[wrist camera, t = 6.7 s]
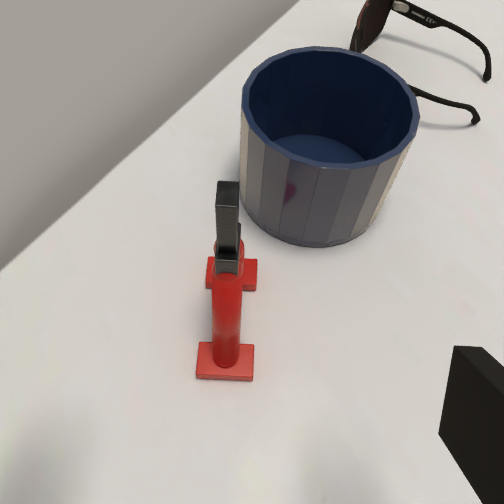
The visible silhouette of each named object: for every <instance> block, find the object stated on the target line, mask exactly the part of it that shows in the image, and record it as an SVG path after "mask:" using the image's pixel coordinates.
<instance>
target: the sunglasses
mask: <svg viewBox="0 0 504 504" xmlns="http://www.w3.org/2000/svg"><path fill="white" fill-rule="evenodd" d="M390 10H393V11H395V12H397V13H399V14H401V15H403V16H405V17H407V18H409V19H411V20H413V21H415V22H418V23H420V24H422V25H424V26H426V27H428V28H436V27H440V26H444V27H447V28H449V29H452V30H454V31H456V32H458V33H459V34H461V35H463V36H464V37H466V38H468V39H469V40H471V41H472V42H474V43H475V44H476V45H477V46H479V47H480V48H481V49H482V51H483V53H484V55H485V60H486V68H485V72H484V74H483V80H484V81H489V80H490V79H491V58H490V53H489V51H488V49H487V47H486V46H485V45H484V44H483V43H482V42H481V41H480V40H479V39H477V38H476V37H475V36H473V35H472V34H470V33H469V32H467V31H466V30H464V29H462V28H460V27H459V26H457V25H455V24H453V23H451V22H449V21H446V20H444V19H442V18H440V17H438V16H436V15H434V14H432V13H430V12H428V11H426V10H424V9H422V8H420V7H418V6H416V5H414V4H412V3H410V2H408V1H406V0H396V1H395V0H367V1H366V2H365V4H364V6H363V8H362V10H361V12H360V14H359V16H358V19H357V25H356V27H355V30H354V32H353V36H352V40H351V44H350V49H349V50H350V51H354V52H358V53H361V50H363V49H365V48H367V47H368V46H369V45H370V44H371V43H372V42H373V41H374V40H375V38H376V37H377V36H378V35H379V34H380V33H381V31H382V30H383V27H384V25H385V23H386V20H387V17H388V15H389V12H390ZM407 85H408V84H407ZM408 86H409V88H410V89H411V91H412V92H413V94H414V95H415V96H421V97H424V98H426V99H429V100H431V101H434V102H437V103H440V104H444V105H447V106H452V107H457V108H462V109H466V110H468V111H469V112H471V113H472V115H473V118H472V120H471V123H472V124H473V125H474V124H477V123H478V122H479V121H480V117H479V114H478V113H477V111H476V109H475V108H474V107H473V106H471V105H468V104H463V103H458V102H453V101H449V100H446V99H443V98H440V97H437V96H434V95H432V94H429V93H427V92H424V91H422V90H420V89H418V88H416V87H413V86H411V85H408Z"/></svg>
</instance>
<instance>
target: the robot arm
mask: <svg viewBox="0 0 504 504" xmlns="http://www.w3.org/2000/svg"><path fill="white" fill-rule="evenodd" d="M438 434H439V436H440V437H441V439H442V440H443V442H444V444H445V445H446V447H447V448H448V450H449V451H450V453H451V455H452V456H453V458H454V459H455V461H456V462H457V464H458V466H459V467H460V469H461V470H462V472H463V474H464V475H465V477H466V478H467V480H468V481H469V483H470V485H471V486H472V488H473V489H474V491H475V493H476V494H477V496H478V497H479V499H480V500H481V502H482V504H504V367H503V366H502V365H501V364H500V363H499V362H498V361H497V360H496V359H495V358H493V357H492V356H491V355H490V354H489V353H488V352H487V351H486V350H485V349H483V348H482V347H472V346H454V348H453V354H452V359H451V365H450V371H449V376H448V382H447V387H446V393H445V399H444V404H443V410H442V416H441V421H440V427H439V432H438Z"/></svg>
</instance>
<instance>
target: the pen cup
mask: <svg viewBox="0 0 504 504" xmlns="http://www.w3.org/2000/svg"><path fill="white" fill-rule="evenodd" d="M419 120H420V113H419V109H418V104H417V100H416V97H415V95H414V94H413V92H412V91H411V89H410V88H409V86H408V85H407V83H406V82H405V80H404V79H403V78H401V77H400V76H399V75H398V74H397V73H395V72H394V71H393V70H392V69H390V68H389V67H388V66H387V65H385V64H383V63H381V62H379V61H377V60H375V59H373V58H371V57H369V56H367V55H365V54H362V53H358V52H354V51H350V50H346V49H342V48H337V47H320V46H311V47H304V48H297V49H290V50H287V51H285V52H282V53H280V54H277V55H275V56H272V57H270V58H268V59H267V60H265V61H264V62H263V63H261V64H260V65H259V66H258V67H256V68H255V69H254V70H253V71H252V72H251V74H250V76H249V77H248V79H247V81H246V83H245V84H244V86H243V90H242V103H241V140H240V183H239V186H240V193H241V198H242V201H243V204H244V206H245V208H246V210H247V212H248V213H249V215H250V216H251V217H252V219H253V220H254V221H255V222H256V223H257V224H258V225H259V226H260V227H261V228H263V229H264V230H265V231H266V232H268V233H270V234H271V235H273V236H274V237H277V238H279V239H281V240H283V241H286V242H289V243H292V244H296V245H300V246H307V247H327V246H334V245H338V244H342V243H344V242H347V241H350V240H352V239H353V238H355V237H357V236H359V235H360V234H361V233H363V232H364V231H365V230H366V229H367V228H368V227H369V226H370V225H371V224H372V222H373V221H374V219H375V218H376V216H377V214H378V213H379V211H380V209H381V207H382V205H383V203H384V201H385V199H386V197H387V195H388V192H389V190H390V188H391V186H392V184H393V182H394V180H395V178H396V176H397V174H398V171H399V169H400V167H401V165H402V163H403V161H404V159H405V157H406V155H407V152H408V150H409V148H410V146H411V144H412V142H413V140H414V138H415V136H416V132H417V128H418V124H419Z"/></svg>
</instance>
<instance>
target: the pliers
mask: <svg viewBox="0 0 504 504" xmlns="http://www.w3.org/2000/svg"><path fill="white" fill-rule="evenodd" d="M215 212H216V231H217V239H216V241H215V244H214V253H215V257H208V262H207V272H206V288H212V342H199V349H198V358H197V368H196V376H197V378H201V379H221V380H241V381H252V380H253V364H254V345H253V344H240V324H241V304H242V290H252V291H255V290H256V284H257V259H246V258H244V243H243V241H242V240H241V224H240V223H238V217H239V182H232V181H218V183H217V193H216V203H215Z"/></svg>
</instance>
